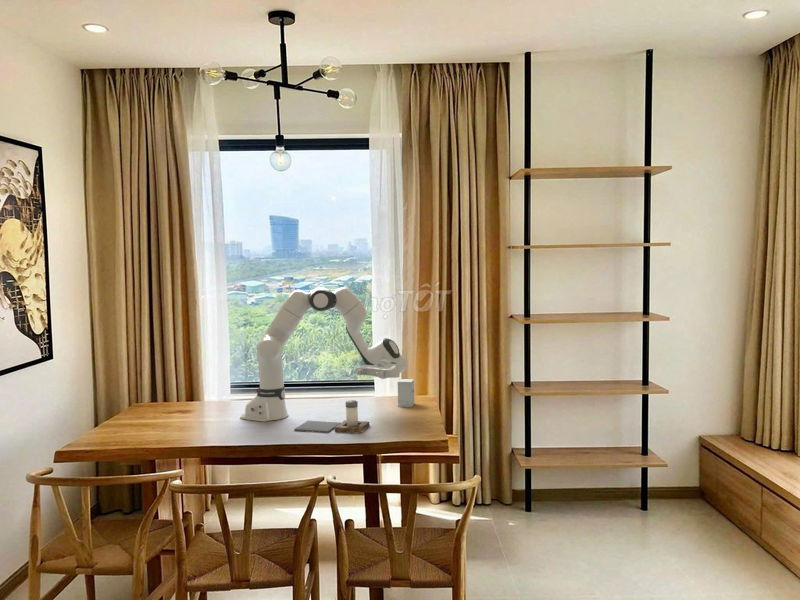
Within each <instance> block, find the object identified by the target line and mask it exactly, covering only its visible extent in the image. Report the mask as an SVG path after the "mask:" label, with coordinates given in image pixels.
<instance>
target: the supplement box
mask: <svg viewBox="0 0 800 600" xmlns="http://www.w3.org/2000/svg"><path fill="white" fill-rule="evenodd" d="M414 404H415V379H414V378H413V379H412V378H409V379H407V378H405V379H404V378H401V379H399V380H398V381H397V407H398V408H399V407H400V408H413V406H414Z"/></svg>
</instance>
